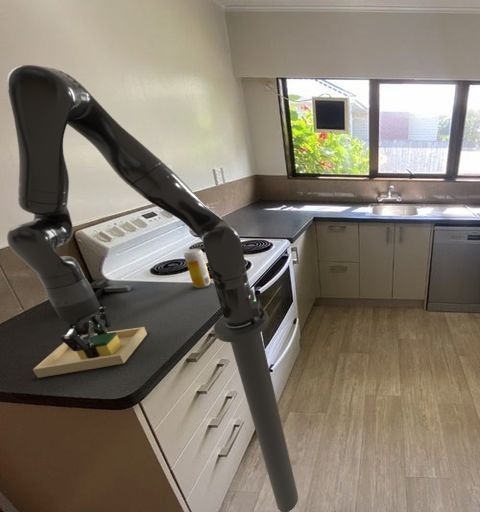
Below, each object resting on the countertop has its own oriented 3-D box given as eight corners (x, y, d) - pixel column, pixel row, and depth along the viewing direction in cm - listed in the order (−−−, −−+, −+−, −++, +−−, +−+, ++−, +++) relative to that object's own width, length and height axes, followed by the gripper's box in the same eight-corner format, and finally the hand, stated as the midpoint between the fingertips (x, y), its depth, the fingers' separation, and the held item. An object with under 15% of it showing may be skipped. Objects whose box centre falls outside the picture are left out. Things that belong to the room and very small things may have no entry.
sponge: (122, 344, 82) (115, 331, 80) (112, 355, 78) (105, 342, 76) (93, 349, 80) (85, 336, 78) (81, 361, 76) (73, 347, 74)
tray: (147, 334, 88) (144, 326, 86) (124, 363, 76) (120, 355, 75) (73, 345, 83) (69, 337, 82) (37, 378, 72) (32, 369, 71)
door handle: (138, 277, 118) (93, 278, 115) (102, 303, 100) (48, 305, 97) (140, 284, 119) (96, 285, 117) (105, 311, 101) (52, 313, 99)
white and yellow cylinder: (201, 281, 119) (191, 247, 113) (214, 281, 118) (205, 248, 112) (190, 288, 114) (179, 253, 108) (204, 289, 113) (193, 254, 107)
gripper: (70, 310, 66) (100, 367, 73) (108, 282, 79) (130, 332, 86) (30, 316, 65) (64, 373, 71) (75, 286, 78) (101, 337, 84)
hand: (100, 350), depth 79 cm, fingers closed on sponge, 4 cm apart
